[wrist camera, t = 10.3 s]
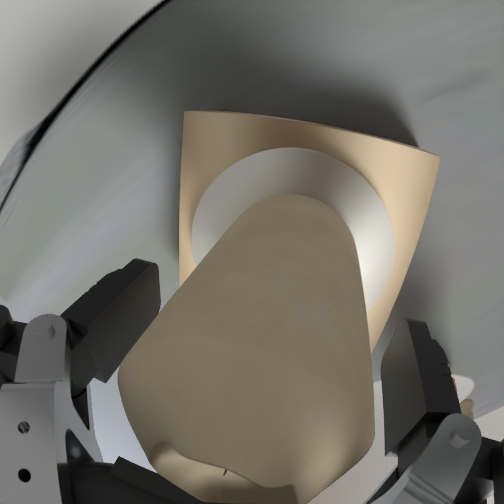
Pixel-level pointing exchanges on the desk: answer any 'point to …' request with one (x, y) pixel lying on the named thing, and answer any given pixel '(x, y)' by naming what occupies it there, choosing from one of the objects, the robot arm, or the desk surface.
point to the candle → (259, 362)
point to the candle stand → (307, 190)
